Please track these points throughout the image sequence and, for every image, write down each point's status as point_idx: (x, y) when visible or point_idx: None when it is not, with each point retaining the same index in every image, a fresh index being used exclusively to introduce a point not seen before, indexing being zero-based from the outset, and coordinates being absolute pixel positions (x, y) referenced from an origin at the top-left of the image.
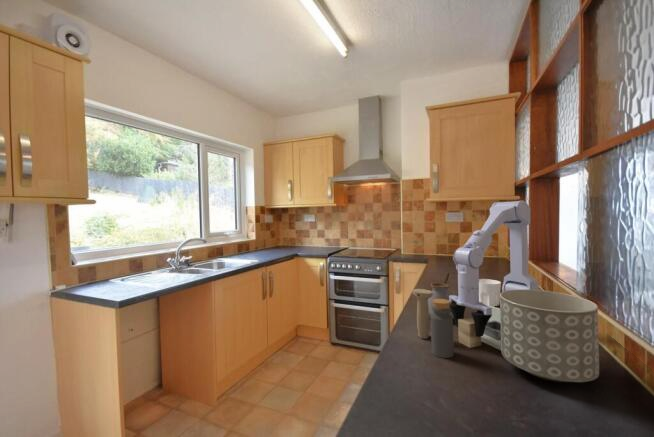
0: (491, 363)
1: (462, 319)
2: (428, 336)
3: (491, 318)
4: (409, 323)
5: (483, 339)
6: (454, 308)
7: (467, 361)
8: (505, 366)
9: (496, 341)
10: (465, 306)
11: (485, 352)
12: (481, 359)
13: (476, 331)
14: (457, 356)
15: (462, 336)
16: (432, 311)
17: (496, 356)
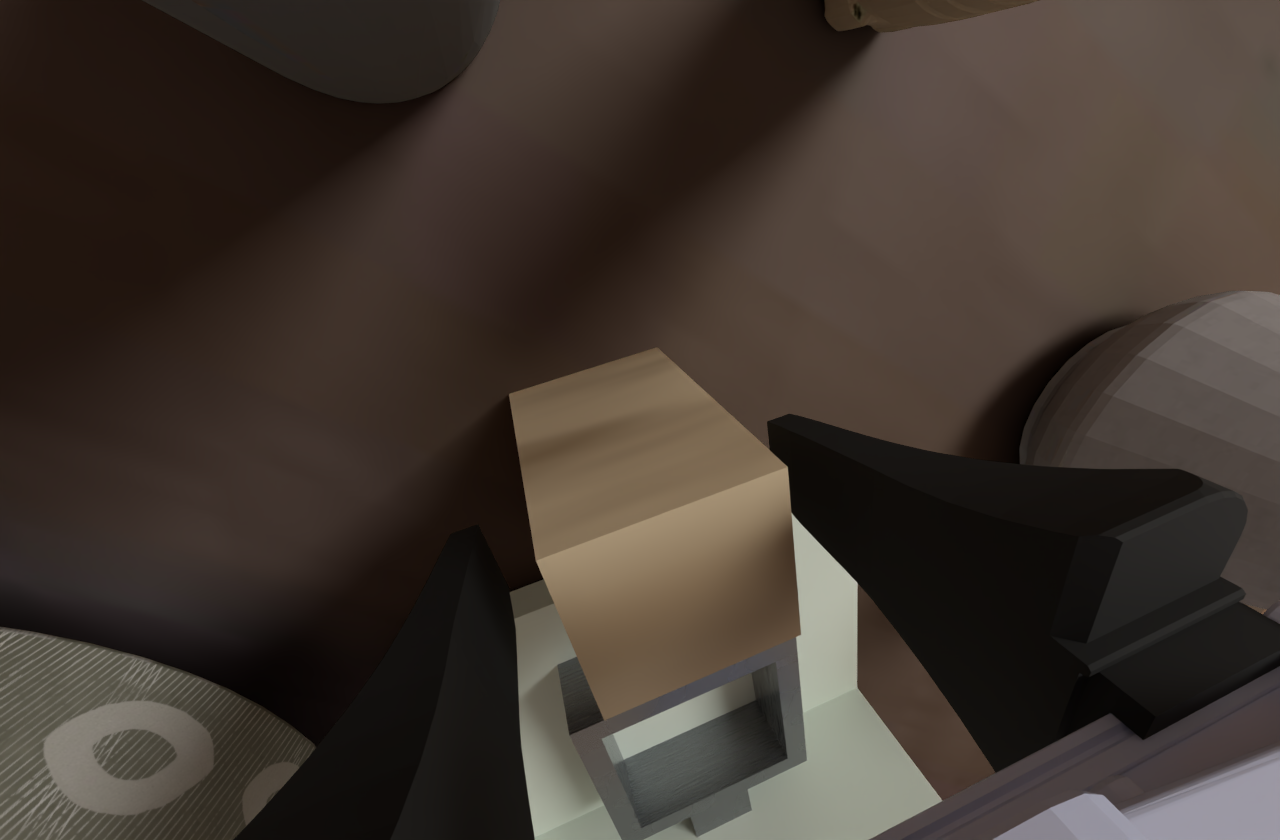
0: (95, 441)
1: (763, 531)
2: (831, 11)
3: (859, 742)
4: (1198, 19)
5: None
6: (1024, 551)
7: (86, 173)
8: (44, 543)
9: (541, 648)
10: (903, 822)
11: (394, 491)
12: (197, 382)
13: (441, 569)
14: (247, 113)
15: (623, 393)
16: (1213, 342)
17: (304, 548)
